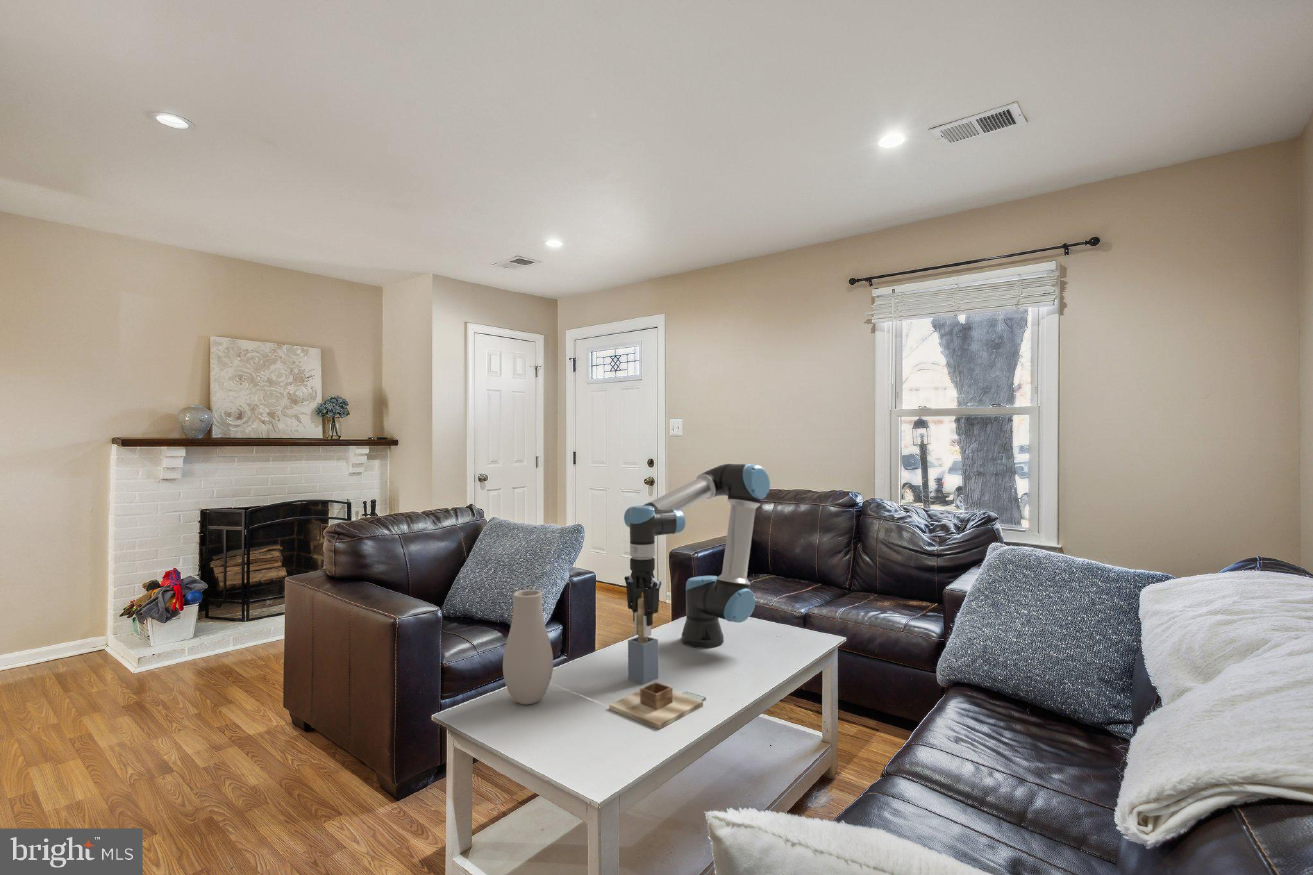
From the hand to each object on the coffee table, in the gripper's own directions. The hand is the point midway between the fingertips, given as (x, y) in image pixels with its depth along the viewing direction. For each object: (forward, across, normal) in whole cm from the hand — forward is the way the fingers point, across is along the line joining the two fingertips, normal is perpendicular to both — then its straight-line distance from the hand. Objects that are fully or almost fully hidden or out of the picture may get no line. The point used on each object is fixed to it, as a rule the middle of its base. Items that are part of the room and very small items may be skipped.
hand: (642, 634), depth 185 cm
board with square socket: (+14, +16, -12) cm, 24 cm away
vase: (+14, -14, -32) cm, 38 cm away
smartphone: (+14, +20, -6) cm, 25 cm away
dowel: (+13, 0, 0) cm, 13 cm away
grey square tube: (+14, 0, 0) cm, 14 cm away
